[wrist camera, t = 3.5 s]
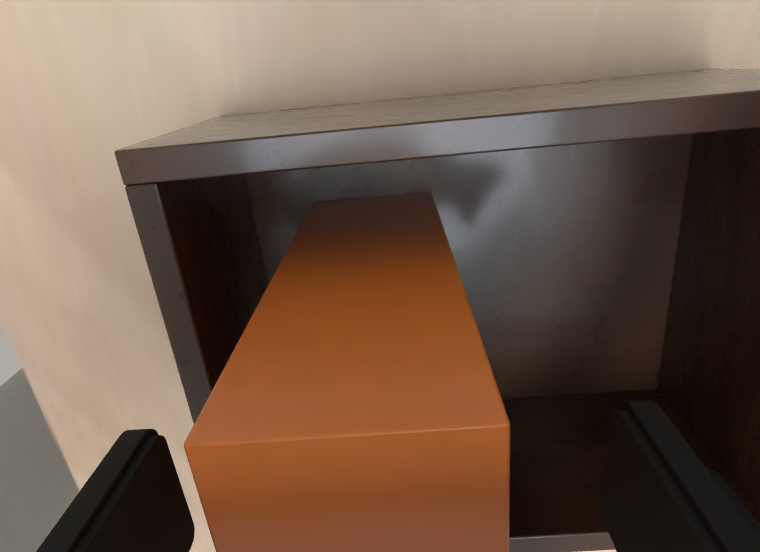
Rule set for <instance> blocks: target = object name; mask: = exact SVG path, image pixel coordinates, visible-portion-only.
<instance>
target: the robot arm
mask: <svg viewBox="0 0 760 552" xmlns="http://www.w3.org/2000/svg"><path fill="white" fill-rule="evenodd" d="M602 516H603V520H604V523H605V526H606V528H607V531H608V533H609V535H610V537H611V540H612V542H613V544H614V546H615V549H616V551H617V552H760V525H759V524H758V522H757V521H756V520H755V519H754V517H753V516H752V515H751V513H750V512H749V511H748V510H747V508H746V507H745V506H744V504H743V503H742V502H741V501H740V499H739V498H738V497H737V495H736V494H735V493H734V492H733V490H732V489H731V488H730V486H729V485H728V484H727V483H726V481H725V480H724V479H723V477H722V476H721V475H720V474H719V473H718V472H717V471H716V470H714V469H712V468H711V467H705V466H704V465H703V463H702V462H701V461H700V459H699V458H698V457H697V455H696V454H695V453H694V451H693V450H692V449H691V447H690V446H689V445H688V443H687V442H686V441H685V439H684V438H683V437H682V435H681V434H680V433H679V431H678V430H677V429H676V427H675V426H674V425H673V424H672V422H671V421H670V420H669V418H668V417H667V416H666V414H665V413H664V412H663V410H662V409H661V408H660V406H659V405H658V404H657V403H656V402H655V401H653V400H645V401H628V402H623V403H622V404H621V406H620V409H618V410H613V412H612V416H611V425H610V434H609V443H608V452H607V461H606V470H605V479H604V488H603V497H602ZM193 539H194V523H193V520H192V517H191V514H190V511H189V508H188V505H187V502H186V499H185V496H184V493H183V490H182V487H181V484H180V481H179V478H178V475H177V472H176V469H175V466H174V463H173V460H172V457H171V454H170V451H169V448H168V445H167V442H166V439H165V437H164V436H161V435H158V433H157V431H155V430H154V429H141V430H127V431H124V432H123V433H122V434H121V435H120V436H119V438H118V439H117V441H116V442H115V443H114V445H113V446H112V448H111V449H110V450H109V452H108V453H107V454H106V456H105V457H104V459H103V460H102V461H101V463H100V464H99V466H98V467H97V468H96V470H95V471H94V472H93V474H92V475H91V477H90V478H89V479H88V481H87V482H86V484H85V485H84V486H83V488H82V489H81V490H80V492H79V493H78V495H77V496H76V497H75V499H74V500H73V502H72V503H71V504H70V506H69V507H68V508H67V510H66V511H65V513H64V514H63V515H62V517H61V518H60V519H59V521H58V522H57V524H56V525H55V526H54V528H53V529H52V531H51V532H50V533H49V535H48V536H47V537H46V539H45V540H44V542H43V543H42V544H41V546H40V547H39V549H38V550H37V551H36V552H189V550H190V548H191V546H192V543H193Z"/></svg>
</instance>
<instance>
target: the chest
mask: <svg viewBox="0 0 760 552" xmlns="http://www.w3.org/2000/svg"><path fill="white" fill-rule="evenodd" d="M115 156H116V159H117V163H118V166H119V169H120V173H121V176H122V180H123V183H124V185H127V186H126V187H125V189H126V193H127V196H128V199H129V203H130V206H131V210H132V213H133V217H134V220H135V223H136V227H137V230H138V234H139V237H140V241H141V244H142V247H143V251H144V254H145V258H146V261H147V265H148V268H149V271H150V275H151V278H152V282H153V285H154V289H155V292H156V295H157V299H158V302H159V306H160V309H161V313H162V316H163V319H164V323H165V326H166V330H167V333H168V337H169V340H170V343H171V347H172V350H173V354H174V357H175V361H176V364H177V367H178V371H179V374H180V378H181V381H182V385H183V388H184V391H185V395H186V398H187V402H188V405H189V409H190V412H191V415H192V419H193V422H194V424H195V422H196V420H197V418H198V416H199V415H200V413H201V411H202V409H203V407H204V405H205V403H206V401H207V399H208V398H209V396H210V394H211V392H212V390H213V388H214V386H215V384H216V383H217V381H218V379H219V377H220V375H221V373H222V371H223V369H224V368H225V366H226V364H227V362H228V360H229V358H230V356H231V354H232V353H233V351H234V349H235V347H236V345H237V343H238V341H239V339H240V338H241V336H242V334H243V332H244V330H245V328H246V326H247V324H248V323H249V321H250V319H251V317H252V315H253V313H254V311H255V309H256V308H257V306H258V304H259V302H260V300H261V298H262V296H263V294H264V293H265V291H266V289H267V287H268V285H269V283H270V281H271V279H272V278H273V276H274V274H275V272H276V270H277V268H278V266H279V264H280V262H281V261H282V259H283V257H284V255H285V253H286V251H287V249H288V247H289V246H290V244H291V242H292V240H293V238H294V236H295V234H296V232H297V231H298V229H299V227H300V225H301V223H302V221H303V219H304V217H305V216H306V214H307V212H308V210H309V208H310V206H311V204H312V203H315V202H327V201H338V200H350V199H361V198H373V197H384V196H395V195H407V194H418V193H430V192H431V193H432V195H433V197H434V200H435V203H436V206H437V209H438V212H439V215H440V218H441V221H442V224H443V227H444V230H445V233H446V236H447V239H448V242H449V245H450V248H451V251H452V253H453V256H454V259H455V262H456V265H457V268H458V271H459V274H460V277H461V280H462V283H463V286H464V289H465V292H466V295H467V298H468V301H469V304H470V307H471V310H472V312H473V315H474V318H475V321H476V324H477V327H478V330H479V333H480V336H481V339H482V342H483V345H484V348H485V351H486V354H487V357H488V360H489V363H490V366H491V368H492V371H493V374H494V377H495V380H496V383H497V386H498V389H499V392H500V395H501V398H502V401H503V404H504V407H505V410H506V413H507V416H508V419H509V422H510V511H509V552H577V551H596V550H616V549H615V546H614V544H613V542H612V540H611V537H610V535H609V533H608V531H607V528H606V526H605V523H604V520H603V516H602V497H603V488H604V479H605V470H606V461H607V452H608V443H609V434H610V425H611V416H612V412H613V410H618V409H620V406H621V404H622V403H623V402H628V401H645V400H653V401H655V402H656V403H657V404H658V405H659V406H660V408H661V409H662V410H663V412H664V413H665V414H666V416H667V417H668V418H669V420H670V421H671V422H672V424H673V425H674V426H675V427H676V429H677V430H678V431H679V433H680V434H681V435H682V437H683V438H684V439H685V441H686V442H687V443H688V445H689V446H690V447H691V449H692V450H693V451H694V453H695V454H696V455H697V457H698V458H699V459H700V461H701V462H702V463H703V465H704V466H705V467H711V468H712V469H714V470H716V471H717V472H718V473H719V474H720V475H721V476H722V477H723V479H724V480H725V481H726V483H727V484H728V485H729V486H730V488H731V489H732V490H733V492H734V493H735V494H736V495H737V497H738V498H739V499H740V501H741V502H742V503H743V504H744V506H745V507H746V508H747V510H748V511H749V512H750V513H751V515H752V516H753V517H754V519H755V520H756V521H757V522H758V524H759V525H760V70H747V69H705V70H695V71H684V72H674V73H664V74H653V75H643V76H633V77H622V78H612V79H602V80H591V81H581V82H571V83H560V84H550V85H539V86H529V87H519V88H508V89H498V90H488V91H477V92H467V93H457V94H446V95H436V96H426V97H415V98H405V99H395V100H384V101H374V102H363V103H353V104H343V105H332V106H322V107H312V108H301V109H291V110H281V111H270V112H260V113H250V114H239V115H229V116H220V117H217V118H214V119H211V120H208V121H204V122H201V123H198V124H195V125H192V126H189V127H186V128H183V129H180V130H177V131H174V132H171V133H168V134H165V135H162V136H158V137H155V138H152V139H149V140H146V141H143V142H140V143H137V144H134V145H131V146H128V147H125V148H122V149H119V150H116V151H115Z"/></svg>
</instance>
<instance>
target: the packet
mask: <svg viewBox="0 0 760 552" xmlns="http://www.w3.org/2000/svg"><path fill="white" fill-rule="evenodd" d="M184 448H185V452H186V455H187V458H188V461H189V465H190V468H191V471H192V474H193V478H194V481H195V484H196V487H197V491H198V494H199V497H200V500H201V504H202V507H203V510H204V513H205V517H206V520H207V523H208V526H209V530H210V533H211V536H212V539H213V543H214V546H215V549H216V552H509V511H510V422H509V419H508V416H507V413H506V410H505V407H504V404H503V401H502V398H501V395H500V392H499V389H498V386H497V383H496V380H495V377H494V374H493V371H492V368H491V366H490V363H489V360H488V357H487V354H486V351H485V348H484V345H483V342H482V339H481V336H480V333H479V330H478V327H477V324H476V321H475V318H474V315H473V312H472V310H471V307H470V304H469V301H468V298H467V295H466V292H465V289H464V286H463V283H462V280H461V277H460V274H459V271H458V268H457V265H456V262H455V259H454V256H453V253H452V251H451V248H450V245H449V242H448V239H447V236H446V233H445V230H444V227H443V224H442V221H441V218H440V215H439V212H438V209H437V206H436V203H435V200H434V197H433V195H432V193H431V192H430V193H418V194H407V195H395V196H384V197H373V198H361V199H350V200H338V201H327V202H315V203H312V204H311V206H310V208H309V210H308V212H307V214H306V216H305V217H304V219H303V221H302V223H301V225H300V227H299V229H298V231H297V232H296V234H295V236H294V238H293V240H292V242H291V244H290V246H289V247H288V249H287V251H286V253H285V255H284V257H283V259H282V261H281V262H280V264H279V266H278V268H277V270H276V272H275V274H274V276H273V278H272V279H271V281H270V283H269V285H268V287H267V289H266V291H265V293H264V294H263V296H262V298H261V300H260V302H259V304H258V306H257V308H256V309H255V311H254V313H253V315H252V317H251V319H250V321H249V323H248V324H247V326H246V328H245V330H244V332H243V334H242V336H241V338H240V339H239V341H238V343H237V345H236V347H235V349H234V351H233V353H232V354H231V356H230V358H229V360H228V362H227V364H226V366H225V368H224V369H223V371H222V373H221V375H220V377H219V379H218V381H217V383H216V384H215V386H214V388H213V390H212V392H211V394H210V396H209V398H208V399H207V401H206V403H205V405H204V407H203V409H202V411H201V413H200V415H199V416H198V418H197V420H196V422H195V424H194V426H193V428H192V430H191V431H190V433H189V435H188V437H187V439H186V441H185V443H184Z"/></svg>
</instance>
